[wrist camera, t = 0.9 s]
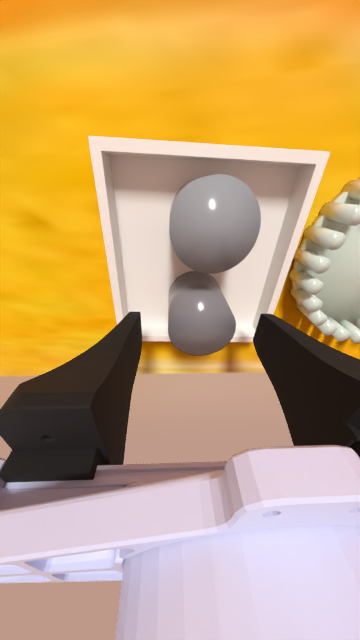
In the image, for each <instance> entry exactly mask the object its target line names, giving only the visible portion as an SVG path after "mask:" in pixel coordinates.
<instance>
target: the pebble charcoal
mask: <svg viewBox="0 0 360 640" xmlns="http://www.w3.org/2000/svg"><path fill="white" fill-rule="evenodd" d="M235 330H236V321H235V317H234V315H233V313H232V311H231V309H230V307H229V305H228V303H227V301H226V299H225V297H224V295H223V293H222V290H221V288H220V286H219V284H218V282H217V281H216V279H215V278H214V277H213V276H211V275H210V274H207V273H201V272H197V271H190V272H186V273H184V274H182V275H180V276H179V277H177V278H176V279H175V280H174V282H173V283H172V285H171V287H170V289H169V298H168V335H169V338H170V340H171V342H172V344H173V345H174V346H175V347H176V348H177V349H179V350H180V351H182V352H184V353H186V354H190V355H198V356H199V355H208V354H212V353H215V352H217V351H219V350H221V349H222V348H224V347H225V346H226V345H227V344H228V343H229V342H230V341H231V339H232V338H233V336H234V334H235Z"/></svg>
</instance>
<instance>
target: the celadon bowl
mask: <svg viewBox="0 0 360 640" xmlns="http://www.w3.org/2000/svg"><path fill="white" fill-rule="evenodd" d="M303 237H304V238H303V240H302V242H301V244H300V246H299V248H298V249H297V250H296V251H295V254H294V257H293V258H294V264H293V269H292V270H291V271H290V273H289V278H290V279H291V284H292V288H291V290H290V294H291V295H292V296H293V297H294V298H295V300H296V304H295V305H296V307H297V308H298V309H299V310H300V311H301V312H302V313H303V314H304V315H305V316H306V317H307V318H308V319H309V320H310V321H311V322H312V323H313V324H314V325H315V326H316V327H317V328H318V329H319V330H320V331H321V332H322V333H323V334H324V335H326V336H328V335H332V336H333V337H335V338H336V339H337V340H338V341H345V340H347V339H348V338H349V339H351V340H352V341H353V342H354V343H360V178H359V179H357V180H352V181H350V182H348V183H347V184H346V185H345V186H344V187H343V189H342V192H341V193H339V194H338V195H337V196H336V197H335V198H334V199H333V200H332V201H331V202H328V203H326V204H325V205H323V207H322V208H321V210H320V214H319V216H318V217H317V218H316V219H315V221H314V222H313V224H312V225H311V226H309V227H307V228H306V230H305V231H304V234H303Z"/></svg>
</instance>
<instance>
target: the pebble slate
mask: <svg viewBox="0 0 360 640" xmlns="http://www.w3.org/2000/svg"><path fill="white" fill-rule="evenodd" d="M260 225H261V213H260V207H259V204H258V201H257V198H256V196H255V194H254V193H253V191H252V190H251V189H250V188H249V187H248V185H246V184H245V183H244V182H243V181H241V180H239V179H238V178H236V177H233V176H230V175H224V174H216V175H209V176H205V177H200V178H196V179H193V180H191V181H189V182H187V183H186V184H184V185H183V186H182V187H181V188H180V189H179V190H178V192H177V193H176V195H175V196H174V199H173V201H172V204H171V208H170V222H169V233H170V240H171V244H172V247H173V249H174V251H175V253H176V255H177V256H178V258H179V259H180V260H181V261H182V262H183V263H184V264H185V265H186V266H188V267H189V268H191V269H193V270H195V271H197V272H201V273H207V274H214V273H220V272H224V271H227V270H229V269H231V268H233V267H235V266H236V265H238V264H239V263H240V262H241V261H243V260H244V259H245V258H246V256H247V255H248V254H249V253H250V251H251V250H252V248H253V247H254V245H255V243H256V240H257V238H258V235H259V231H260Z"/></svg>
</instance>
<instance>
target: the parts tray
mask: <svg viewBox="0 0 360 640" xmlns="http://www.w3.org/2000/svg"><path fill="white" fill-rule="evenodd" d="M88 139H89V146H90V152H91V159H92V165H93V172H94V178H95V185H96V191H97V198H98V204H99V211H100V217H101V224H102V230H103V237H104V243H105V250H106V256H107V263H108V269H109V276H110V282H111V289H112V295H113V302H114V308H115V315H116V321H117V325H118V323H119V322H120V321H121V320H122V319H123V318H124V317H125V316H126V315H127V314H128V313H129V312H140V313H141V327H142V341H171V340H170V338H169V335H168V298H169V289H170V287H171V285H172V283H173V282H174V280H175V279H176V278H177V277H179V276H180V275H182V274H184V273H186V272H190V271H195V270H193V269H191V268H189V267H188V266H186V265H185V264H184V263H183V262H182V261H181V260H180V259H179V258H178V256H177V255H176V253H175V251H174V249H173V247H172V244H171V240H170V233H169V222H170V208H171V204H172V201H173V199H174V196H175V195H176V193H177V192H178V190H179V189H180V188H181V187H182V186H183V185H184V184H186V183H187V182H189V181H191V180H193V179H196V178H200V177H205V176H209V175H216V174H224V175H230V176H233V177H236V178H238V179H239V180H241V181H243V182H244V183H245V184H246V185H248V187H249V188H250V189H251V190H252V191H253V193H254V194H255V196H256V198H257V201H258V204H259V207H260V213H261V225H260V231H259V235H258V238H257V240H256V243H255V245H254V247H253V248H252V250H251V251H250V253H249V254H248V255H247V256H246V258H245V259H244V260H243V261H241V262H240V263H239V264H238V265H236V266H235V267H233V268H231V269H229V270H227V271H224V272H220V273H214V274H210V275H211V276H213V277H214V278H215V279H216V281H217V282H218V284H219V286H220V288H221V290H222V293H223V295H224V297H225V299H226V301H227V303H228V305H229V307H230V309H231V311H232V313H233V315H234V317H235V321H236V330H235V334H234V336H233V338H232V339H231V341H230V342H253V337H254V334H255V331H256V328H257V325H258V321H259V318H260V315H261V314H272V315H273V314H274V311H275V308H276V305H277V302H278V300H279V297H280V294H281V291H282V288H283V285H284V282H285V280H286V277H287V274H288V271H289V268H290V265H291V263H292V260H293V257H294V254H295V251H296V248H297V246H298V243H299V240H300V237H301V234H302V231H303V228H304V226H305V223H306V220H307V217H308V214H309V211H310V209H311V206H312V203H313V200H314V197H315V194H316V192H317V189H318V186H319V183H320V180H321V177H322V174H323V172H324V169H325V166H326V163H327V160H328V157H329V155H330V152H328V151H313V150H298V149H283V148H267V147H252V146H237V145H222V144H207V143H192V142H176V141H161V140H146V139H131V138H116V137H101V136H88Z"/></svg>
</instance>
